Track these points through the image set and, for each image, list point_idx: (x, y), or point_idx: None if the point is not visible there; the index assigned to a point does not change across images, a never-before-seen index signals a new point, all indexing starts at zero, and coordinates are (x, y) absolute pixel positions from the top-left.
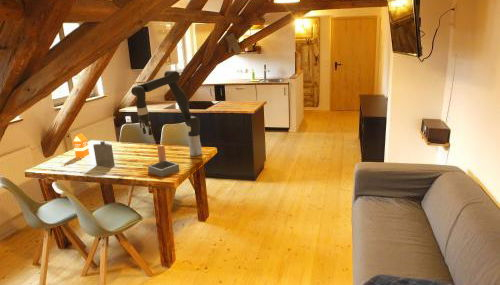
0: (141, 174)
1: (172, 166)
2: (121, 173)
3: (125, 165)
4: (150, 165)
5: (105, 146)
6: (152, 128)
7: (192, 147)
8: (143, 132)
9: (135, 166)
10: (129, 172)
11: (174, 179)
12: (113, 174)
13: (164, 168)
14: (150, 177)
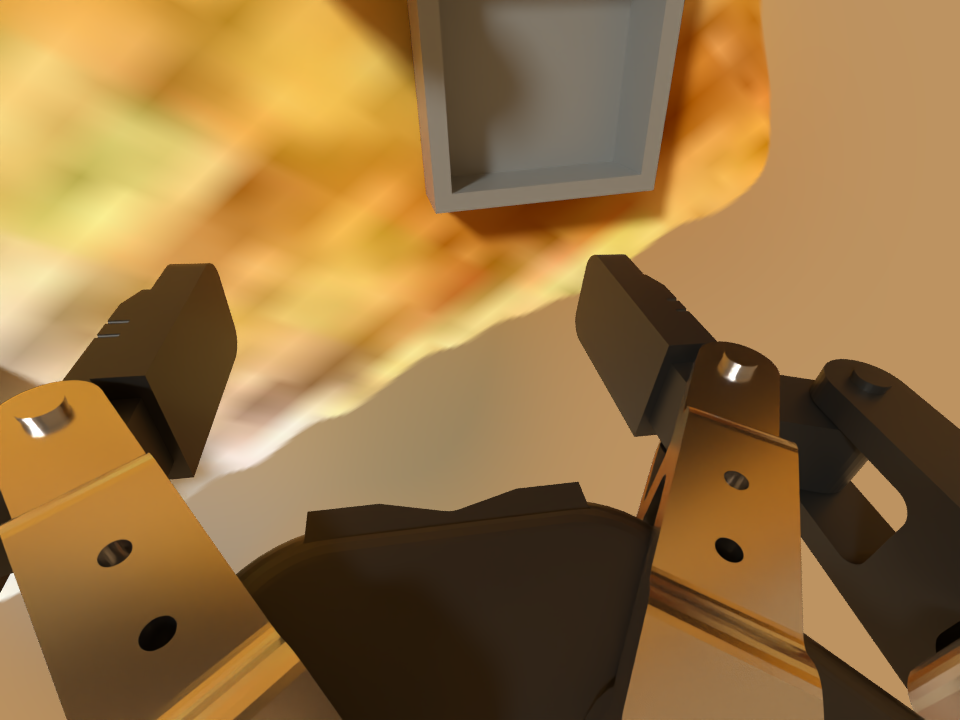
0: (424, 265)
1: (680, 17)
2: (266, 368)
3: (5, 260)
4: (442, 184)
5: None
6: (897, 389)
7: None
8: (222, 384)
9: (126, 198)
10: (290, 315)
11: (756, 131)
12: (245, 415)
13: (647, 132)
14: (549, 246)
